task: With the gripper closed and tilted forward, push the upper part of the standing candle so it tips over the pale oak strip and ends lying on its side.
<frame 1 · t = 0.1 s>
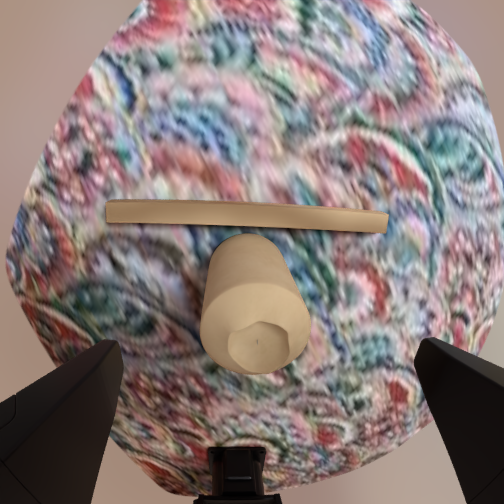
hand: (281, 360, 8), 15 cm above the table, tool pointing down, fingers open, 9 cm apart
candle: (246, 267, 23), on the table
oak strip: (250, 212, 22), on the table
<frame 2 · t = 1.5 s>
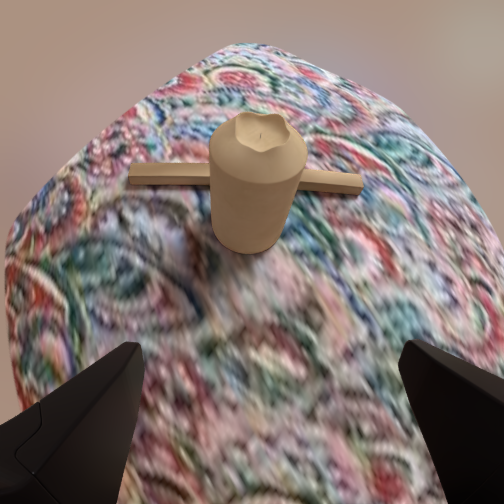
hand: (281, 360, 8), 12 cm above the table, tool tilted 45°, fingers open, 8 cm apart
candle: (246, 224, 24), on the table
oak strip: (247, 180, 26), on the table
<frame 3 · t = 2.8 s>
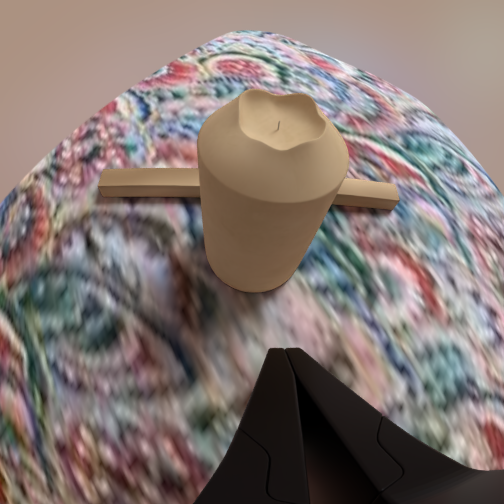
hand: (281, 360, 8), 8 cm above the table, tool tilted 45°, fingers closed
candle: (252, 250, 18), on the table
oak strip: (252, 190, 20), on the table
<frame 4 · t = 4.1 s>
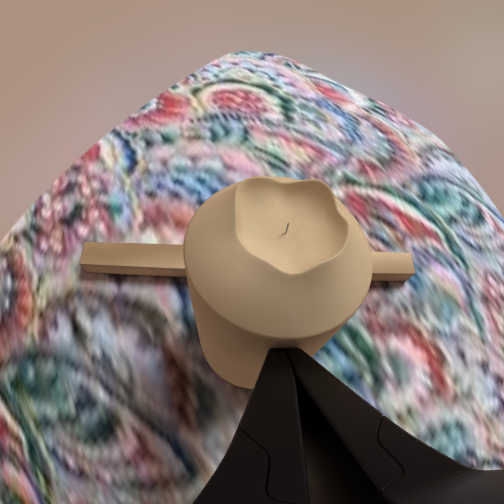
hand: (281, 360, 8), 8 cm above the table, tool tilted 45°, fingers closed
candle: (253, 340, 16), on the table
oak strip: (252, 267, 18), on the table
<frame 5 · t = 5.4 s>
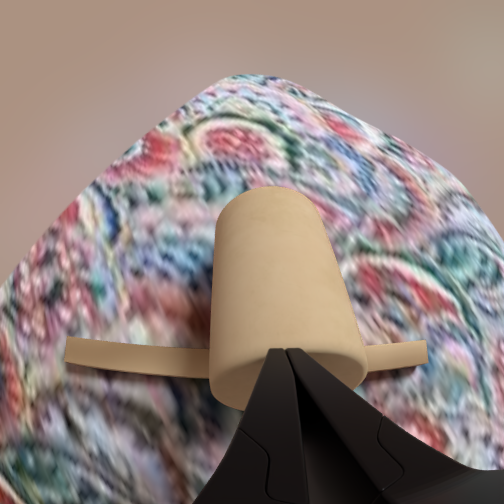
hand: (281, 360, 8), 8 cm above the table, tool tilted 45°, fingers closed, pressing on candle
candle: (291, 395, 10), point 6 cm above the table, touching gripper
oak strip: (253, 366, 16), on the table
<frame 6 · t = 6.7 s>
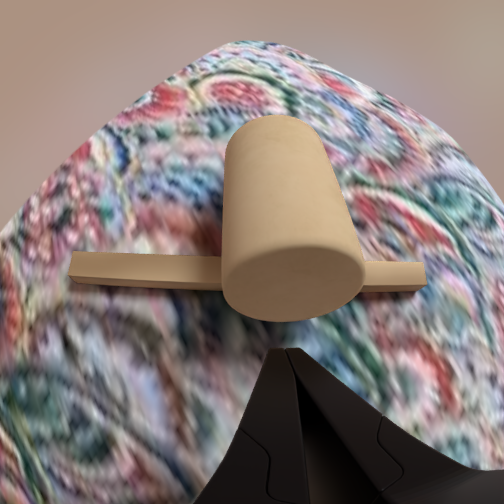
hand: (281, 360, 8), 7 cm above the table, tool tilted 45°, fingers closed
candle: (296, 296, 11), point 5 cm above the table, touching oak strip
oak strip: (254, 279, 17), on the table
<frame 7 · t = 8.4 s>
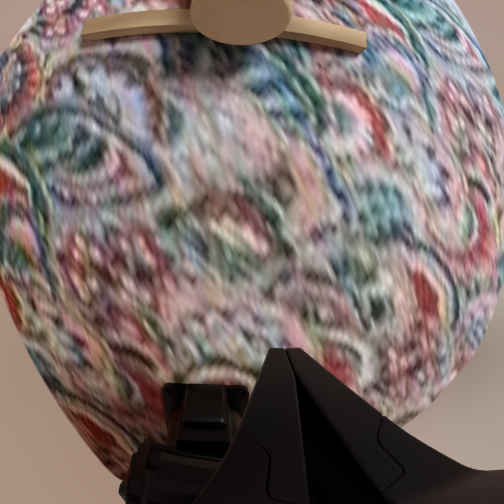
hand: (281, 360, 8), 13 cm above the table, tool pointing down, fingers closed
candle: (240, 19, 13), point 5 cm above the table, touching oak strip
oak strip: (223, 25, 17), on the table
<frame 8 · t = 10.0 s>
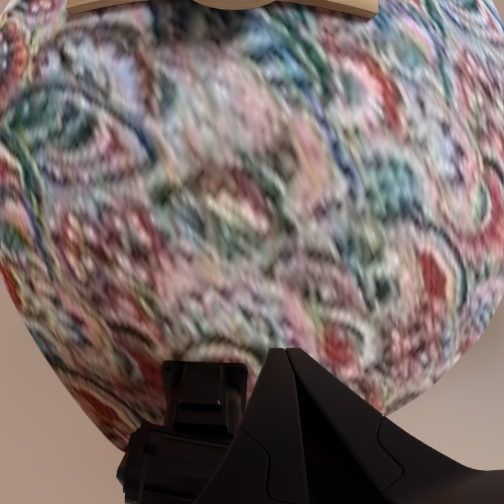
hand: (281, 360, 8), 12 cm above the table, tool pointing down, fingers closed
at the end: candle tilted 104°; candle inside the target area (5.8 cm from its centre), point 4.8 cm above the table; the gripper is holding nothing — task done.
